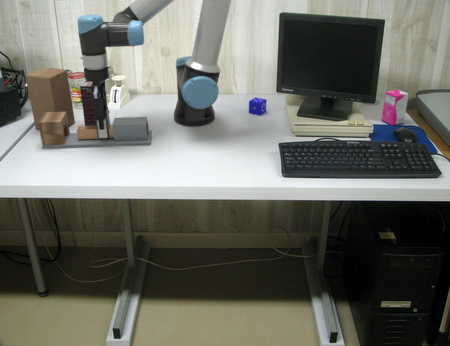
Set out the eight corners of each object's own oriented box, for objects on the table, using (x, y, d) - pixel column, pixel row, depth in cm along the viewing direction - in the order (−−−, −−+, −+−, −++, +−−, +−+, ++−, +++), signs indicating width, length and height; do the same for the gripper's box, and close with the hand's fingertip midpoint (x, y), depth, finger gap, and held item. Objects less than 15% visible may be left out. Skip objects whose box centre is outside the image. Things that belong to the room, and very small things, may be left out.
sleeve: (148, 132, 172) (147, 116, 170) (147, 140, 166) (146, 124, 164) (116, 133, 172) (114, 117, 169) (114, 141, 166) (112, 125, 163)
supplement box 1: (98, 129, 177) (92, 86, 170) (85, 129, 177) (78, 86, 170) (104, 120, 185) (99, 78, 177) (91, 120, 185) (86, 78, 177)
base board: (152, 133, 174) (151, 130, 174) (150, 145, 166) (150, 142, 165) (49, 136, 172) (49, 133, 172) (42, 148, 163) (42, 145, 163)
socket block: (69, 133, 172) (66, 111, 168) (64, 144, 164) (60, 121, 160) (49, 134, 171) (45, 112, 167) (42, 145, 163) (38, 122, 160)
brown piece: (145, 133, 171) (143, 105, 166) (144, 137, 168) (142, 109, 163) (80, 135, 169) (75, 107, 165) (78, 139, 166) (73, 111, 162)
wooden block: (75, 122, 183) (67, 69, 173) (59, 133, 174) (49, 77, 165) (52, 119, 186) (43, 66, 176) (35, 129, 177) (24, 74, 168)
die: (248, 113, 191) (248, 100, 188) (254, 109, 195) (255, 97, 192) (260, 115, 188) (260, 103, 186) (266, 111, 192) (266, 99, 190)
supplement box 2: (392, 118, 186) (397, 88, 180) (404, 123, 181) (409, 93, 176) (380, 120, 184) (385, 91, 178) (391, 126, 179) (397, 96, 174)
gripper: (88, 59, 164) (96, 125, 175) (78, 74, 149) (89, 145, 160) (111, 59, 164) (118, 124, 176) (104, 74, 150) (112, 145, 161)
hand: (104, 134), depth 168 cm, fingers closed on brown piece, 3 cm apart
